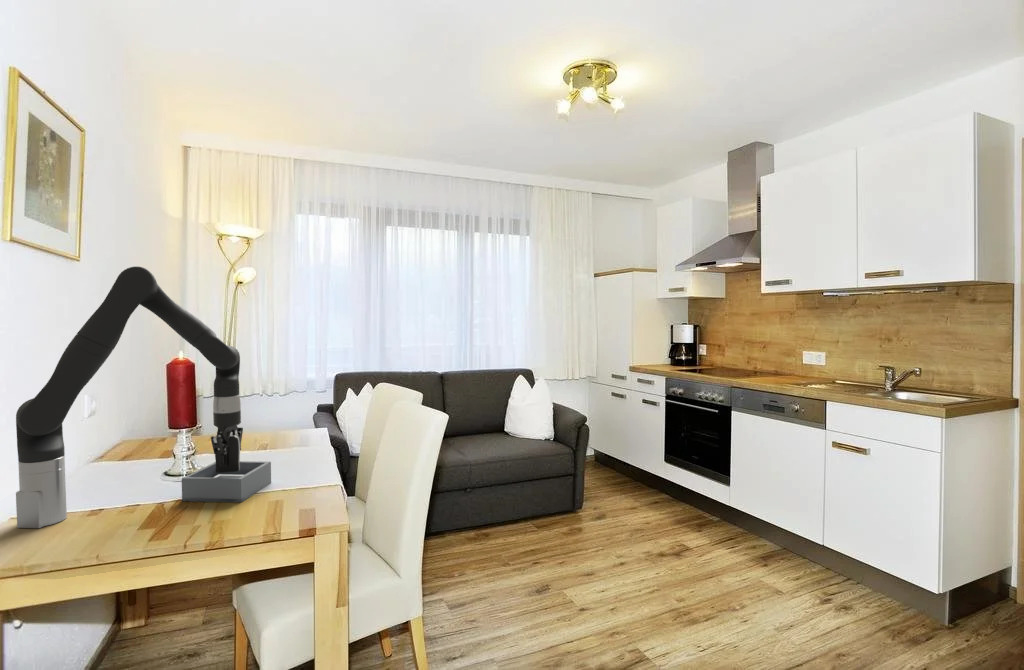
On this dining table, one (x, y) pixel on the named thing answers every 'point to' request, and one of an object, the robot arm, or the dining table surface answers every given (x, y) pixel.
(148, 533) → the dining table surface
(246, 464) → the walled box
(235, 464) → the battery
